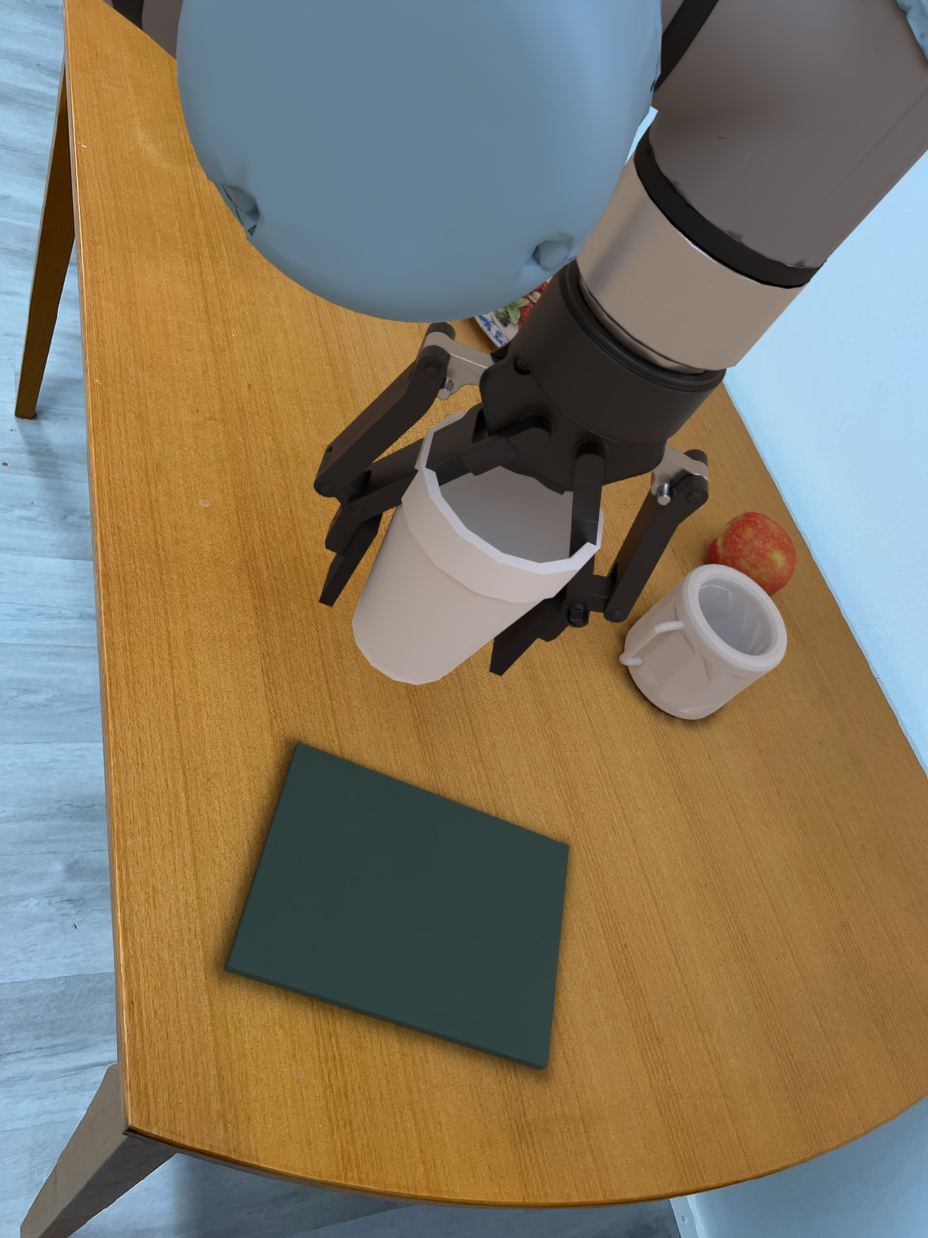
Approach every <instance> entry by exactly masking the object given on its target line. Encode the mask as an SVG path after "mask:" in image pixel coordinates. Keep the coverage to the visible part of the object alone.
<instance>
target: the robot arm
mask: <svg viewBox="0 0 928 1238" xmlns="http://www.w3.org/2000/svg"><path fill="white" fill-rule="evenodd" d="M102 2H104V3H105V4H107V5H108V6H109V7H111V9H113V10H114V11H116V12H117V13H119V15H121V16H122V17H124V19H126V20H127V21H129V22H130V23H132V24H133V25H134V26H135V27H136V28H138V29H139V30H140V31H142V32H143V33H144V34H146V35H147V36H148V37H149V38H150V39H151V40H153V41H154V42H155V43H156V44H157V45H158V46H159V47H160V48H161V49H163V51H165V52H166V53H167V54H168V55H169V56H170V57H171V58H173V60H175V61H176V79H177V81H176V82H177V88H178V93H179V94H178V95H179V99H180V104H181V110H182V115H183V118H184V121H185V127H186V130H187V135H188V139H189V142H190V144H191V146H192V148H193V151H194V153H195V156H196V159H197V162H198V163H199V165H200V167H201V169H202V171H203V172H204V174H205V176H206V179H207V181H209V182H212V183H213V184H214V186H215V188H216V190H217V191H218V193H219V195H220V197H221V199H222V200H223V202H224V203H225V205H226V207H227V208H228V209H229V211H230V212H231V213H232V215H233V216H234V218H235V219H236V220H237V222H238V223H239V224H240V226H241V227H242V228H243V230H244V234H245V238H246V241H248V243H249V244H250V245H252V247H254V248H255V249H256V251H257V252H258V253H259V254H260V255H261V256H262V257H263V258H264V259H265V260H266V261H267V262H268V263H270V264H271V265H272V266H274V267H275V268H276V269H277V270H278V271H279V272H280V273H282V274H283V275H284V276H285V277H286V278H288V279H290V280H291V281H292V282H294V283H296V284H297V285H299V286H300V287H302V288H303V289H305V290H306V291H308V292H309V293H311V294H313V295H315V296H317V297H319V298H321V299H323V300H325V301H327V302H329V303H331V304H333V305H335V306H338V307H341V308H344V309H346V310H349V311H352V312H355V313H356V314H357V313H358V314H360V315H365V316H369V317H372V318H375V319H376V318H377V319H379V320H380V319H381V320H385V321H393V322H400V323H406V324H407V323H408V324H409V323H411V324H412V323H413V324H429V326H428V327H427V328H426V331H425V334H424V335H423V336H424V337H423V339H422V342H421V344H420V347H419V349H418V351H417V355H416V357H415V359H414V360H413V361H412V362H411V363H410V364H409V365H408V366H407V367H405V369H404V370H403V371H402V372H401V373H400V374H399V375H398V376H397V377H396V378H395V379H394V380H393V381H392V382H391V383H390V384H389V385H388V386H387V387H385V389H383V391H382V392H381V393H380V394H379V395H378V396H377V397H375V398H374V399H373V401H371V402H370V404H369V405H368V406H366V407H365V408H364V410H362V411H361V412H360V413H359V414H358V415H357V416H356V417H355V418H354V419H353V420H352V421H351V422H350V423H349V424H348V425H347V426H346V427H345V428H344V429H343V430H342V431H341V432H340V433H339V434H338V435H337V436H336V437H335V438H334V439H333V440H332V441H330V443H329V444H328V445H327V446H326V447H325V450H324V453H323V455H322V458H321V460H320V464H319V467H318V470H317V472H316V475H315V477H314V481H313V485H312V487H313V490H314V491H315V493H317V494H318V495H319V496H321V497H323V498H328V499H331V498H335V499H336V500H337V501H338V502H339V504H340V505H339V506H338V508H337V510H336V512H335V514H334V515H333V517H332V519H331V521H330V524H329V526H328V530H327V533H326V536H325V539H324V549H325V550H328V551H330V552H333V553H334V554H335V555H334V557H333V559H332V560H331V562H330V564H329V567H328V570H327V574H326V577H325V579H324V583H323V586H322V590H321V593H320V596H319V599H318V603H320V604H322V605H325V606H326V607H330V608H333V606H334V605H335V604H336V602H337V601H338V598H339V597H340V595H341V593H342V592H343V590H344V589H345V587H346V586H347V584H348V582H349V580H351V577H353V574H354V573H355V571H356V569H357V568H358V566H359V565H360V563H361V562H362V560H363V558H364V557H365V555H366V553H367V552H368V550H369V548H370V547H371V545H372V543H373V542H374V541H375V538H376V537H377V536H378V533H379V530H380V525H381V524H382V523H381V522H382V518H383V515H384V513H385V512H388V511H389V510H392V509H395V507H396V506H398V505H401V504H402V500H401V499H402V497H403V495H404V494H405V492H406V490H407V489H408V487H409V486H410V484H411V482H412V481H413V479H414V478H415V476H416V474H417V473H418V471H419V470H417V469H415V468H414V467H415V464H416V461H417V458H418V455H419V452H420V449H421V446H422V443H423V440H424V436H423V437H421V438H419V439H417V440H416V441H413V442H411V443H409V444H407V445H405V446H403V447H401V448H399V449H397V450H395V451H393V452H391V453H390V454H387V455H386V456H383V457H381V456H382V455H383V454H384V453H385V452H386V451H387V450H388V449H389V448H390V447H391V446H393V445H394V444H395V443H396V442H397V441H398V440H399V439H400V438H401V437H403V436H404V434H406V433H407V432H408V431H410V429H411V428H412V427H413V426H414V425H416V424H417V423H418V422H419V421H420V420H421V419H422V418H423V417H425V415H426V414H427V413H428V411H429V410H430V409H431V407H432V406H433V405H434V404H435V403H434V402H435V401H436V399H439V400H441V401H447V400H449V399H450V397H451V396H453V395H455V394H457V393H458V392H459V390H460V389H461V388H463V387H465V386H469V385H474V386H477V387H478V390H479V394H480V395H479V396H480V402H478V403H476V404H475V405H474V404H473V406H471V407H470V408H469V409H467V410H466V411H467V412H466V414H465V415H464V416H463V417H462V418H461V419H459V420H457V421H455V422H453V423H451V424H449V425H447V426H445V427H443V428H441V429H439V430H437V431H435V432H434V434H433V438H432V442H431V446H430V450H429V454H428V458H427V462H426V466H425V468H427V469H429V470H432V471H434V472H435V474H436V477H437V481H438V485H439V487H440V486H442V485H444V484H446V483H448V482H450V481H453V480H455V479H457V478H459V477H461V476H463V475H466V474H468V473H472V474H473V475H474V476H478V475H481V474H483V473H485V472H487V471H490V470H492V469H494V468H496V467H498V466H501V467H503V468H505V469H507V470H510V471H512V472H514V473H516V474H520V475H525V476H529V477H533V478H535V479H536V480H537V481H539V482H540V483H541V484H542V485H544V486H545V487H546V488H548V489H550V490H552V491H554V492H556V493H558V494H561V495H563V494H564V492H565V491H568V492H573V502H572V517H571V535H570V550H569V558H570V557H571V556H572V555H573V554H575V553H576V552H577V551H578V550H579V549H580V548H581V547H582V546H584V545H585V544H586V543H587V542H589V543H591V544H593V545H595V546H596V542H597V532H598V523H599V513H600V506H601V504H602V503H601V502H602V493H603V487H604V486H608V485H612V484H615V483H618V482H621V481H625V480H628V479H632V478H636V477H639V476H642V475H646V474H649V473H650V488H649V490H648V492H647V494H646V495H645V498H644V500H643V503H642V504H641V506H640V508H639V510H638V512H637V514H636V516H635V518H634V520H633V522H632V524H631V526H630V528H629V530H628V532H627V534H626V536H625V538H624V540H623V542H622V544H621V546H620V548H619V550H618V552H617V555H616V556H615V558H614V560H613V562H612V564H611V565H610V569H609V570H608V573H607V574H606V576H605V575H601V574H594V572H595V562H596V561H595V560H596V553H595V554H594V555H593V556H592V557H591V558H590V559H589V560H588V561H587V562H586V563H585V565H584V566H583V567H582V568H581V569H580V570H579V571H578V572H577V573H576V574H575V575H574V576H573V577H572V579H571V580H570V581H569V582H568V583H567V584H566V585H565V586H564V587H563V588H562V589H561V590H560V591H559V592H558V593H557V594H556V595H555V596H554V597H552V598H546V599H543V600H542V601H541V602H539V603H538V604H537V605H536V606H534V607H533V608H532V609H530V610H529V611H528V612H527V613H525V614H524V615H523V616H521V617H520V618H519V619H518V620H516V621H515V622H514V623H512V624H511V625H510V626H509V627H507V628H506V629H505V630H503V631H502V632H501V633H499V634H498V635H497V636H496V637H494V638H493V642H492V643H493V644H492V650H491V655H490V662H489V669H488V672H489V673H491V674H493V675H496V676H498V677H502V676H503V675H504V674H505V673H507V671H508V670H509V669H510V668H512V666H513V665H514V664H515V662H517V661H518V660H519V659H520V658H521V657H522V656H523V654H524V653H525V652H526V651H527V650H528V649H529V648H530V647H531V646H532V645H533V644H534V643H535V642H536V641H537V640H538V639H539V640H541V641H544V642H545V643H550V642H552V641H554V640H556V639H557V638H559V636H560V635H562V634H563V633H564V631H565V630H566V629H568V627H571V628H574V629H581V628H584V627H586V626H587V625H588V624H589V622H590V612H593V613H594V612H595V613H600V614H603V615H602V616H603V618H604V619H605V620H606V621H608V622H610V623H614V624H619V623H622V622H625V621H626V620H627V619H628V617H629V616H630V614H631V612H632V611H633V609H634V607H635V605H636V603H637V601H638V600H639V598H640V596H641V594H642V592H643V590H644V589H645V587H646V586H647V583H648V581H649V579H650V577H651V575H652V574H653V572H654V570H655V569H656V566H657V565H658V563H659V561H660V560H661V558H662V556H663V554H664V552H665V550H666V548H667V547H668V545H669V543H670V542H671V539H672V537H673V536H674V534H675V533H676V530H677V528H678V527H679V525H680V524H681V523H683V522H684V521H685V520H686V519H688V518H689V517H690V516H692V515H693V514H694V513H696V511H698V510H699V509H700V508H701V507H702V506H704V505H705V504H706V503H707V501H708V500H709V498H710V497H709V496H710V494H709V493H710V492H709V491H710V490H709V488H710V487H709V458H708V454H707V453H706V452H705V451H703V450H701V449H697V448H692V449H688V450H686V451H685V452H682V451H680V450H679V449H677V448H675V447H674V446H672V445H670V444H669V443H667V442H668V440H669V439H671V438H672V437H674V436H675V435H676V434H677V432H679V431H680V430H681V428H682V427H683V426H684V425H685V424H686V423H687V422H688V420H689V419H690V418H691V417H692V416H693V414H694V413H696V411H697V410H698V409H699V408H700V407H701V406H702V405H703V403H704V402H705V401H706V400H707V399H708V398H709V397H710V396H711V394H712V393H713V392H714V391H715V390H716V389H717V388H718V386H719V385H720V384H721V383H722V381H723V380H724V378H725V377H726V374H727V370H728V369H730V368H733V367H736V366H737V365H738V364H739V363H740V362H741V361H742V360H743V358H744V357H745V356H747V354H748V353H749V352H750V351H751V349H753V347H754V346H755V345H756V344H757V342H759V341H760V339H761V338H762V337H763V336H764V335H765V333H766V332H767V331H769V329H770V328H771V327H772V325H774V324H775V322H776V321H777V320H779V317H780V316H781V315H782V314H783V313H784V312H785V311H786V310H787V308H788V307H789V306H790V305H791V304H792V303H793V302H794V300H795V299H796V298H797V297H798V296H799V295H800V294H801V292H803V290H804V289H805V288H806V287H807V286H808V285H809V284H810V282H811V280H812V279H813V278H814V277H815V275H817V274H818V272H819V271H820V270H821V269H822V267H823V266H824V265H825V263H827V262H828V259H829V258H830V257H831V256H832V255H833V254H834V253H835V251H836V250H838V248H839V247H840V246H841V245H842V244H843V243H844V242H845V241H846V240H847V238H848V237H849V236H850V235H851V234H852V233H853V232H854V231H855V230H856V229H857V228H858V226H860V224H862V222H864V220H865V219H866V218H867V217H868V216H869V214H870V213H872V211H873V210H874V209H875V208H876V207H877V206H878V204H880V203H881V202H882V200H883V199H884V198H885V197H886V196H887V195H888V194H889V193H890V192H891V191H892V190H893V189H894V188H895V186H897V184H898V183H899V182H900V181H901V180H902V179H903V177H905V176H906V174H907V173H909V171H910V170H911V169H912V168H913V167H914V166H915V165H916V163H918V161H919V160H920V159H921V158H922V157H923V156H924V155H925V153H927V151H928V0H102ZM651 108H652V109H654V110H656V111H657V112H656V113H655V115H654V118H653V119H652V121H651V123H650V124H649V126H647V128H646V129H645V131H644V132H643V134H642V135H641V137H640V138H639V140H638V142H637V144H636V146H635V149H634V150H633V152H632V153H631V154H630V151H631V149H632V147H633V143H634V141H635V138H636V135H637V132H638V129H639V128H640V126H641V124H642V123H643V122H644V120H645V119H646V117H647V116H648V115H649V114H650V110H651ZM629 154H630V157H629ZM628 157H629V158H628ZM552 276H553V277H552ZM550 277H552V278H551V280H550V281H549V283H548V285H547V286H546V288H545V289H544V291H543V292H542V294H541V296H540V297H539V299H538V300H537V302H536V304H535V305H534V307H533V308H532V310H531V311H530V313H529V315H528V316H527V318H526V319H525V321H524V322H523V324H522V326H521V327H520V329H519V330H518V332H517V333H516V335H515V336H514V337H513V338H512V339H511V340H510V341H509V342H508V343H506V344H505V345H503V346H501V347H499V348H498V347H497V348H495V349H493V350H491V352H490V353H486V352H485V351H482V350H479V349H477V348H475V347H471V346H469V345H466V344H464V343H461V342H459V341H456V336H457V333H456V330H455V328H454V326H452V325H451V324H450V322H458V321H462V320H467V319H472V318H474V317H475V316H480V315H484V314H486V313H489V312H492V311H494V310H497V309H499V308H502V307H505V306H507V305H509V304H511V303H513V302H514V301H516V300H518V299H520V298H521V297H523V296H525V295H527V294H529V293H530V292H532V291H533V290H534V289H536V288H537V287H538V286H540V285H541V284H542V283H544V282H545V281H546V280H548V279H549V278H550ZM380 457H381V458H380ZM378 458H379V459H378Z"/></svg>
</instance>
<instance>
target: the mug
mask: <svg viewBox="0 0 928 1238" xmlns="http://www.w3.org/2000/svg"><path fill="white" fill-rule="evenodd" d="M787 645H788V634H787V629H786V625H785V622H784V619H783V616H782V614H781V613H780V611H779V608H778V607H777V606H776V604H775V602H774V601H773V600H772V598H771V596H768V595H767V593H766V592H765V591H764V590H763V589H762V588H761V587H760V586H759V585H758V584H757V583H756V582H754V581H753V580H752V579H751V578H749V577H748V576H746V575H745V574H743V573H741V572H739V571H738V570H735V569H733V568H730V567H727V566H724V565H718V564H703V565H699V566H697V567H694V569H692V570H691V571H689V572H688V573H687V574H686V575H685V576H684V577H683V578H682V579H681V580H680V581H679V582H677V584H675V585H674V586H673V587H672V588H671V589H670V590H669V591H668V592H667V593H666V594H664V596H663V597H661V598H660V599H659V600H658V601H657V602H656V603H655V604H653V606H652V607H651V608H650V609H648V611H646V612H645V613H644V614H643V615H642V616H641V617H639V619H638V620H637V621H636V622H635V623H634V624H633V625H632V626H631V627H630V629H629V630H628V632H627V634H626V637H625V641H624V652H623V653H621V654H620V655H619V658H618V659H619V663H620V664H621V665H623V666H627V669H628V671H629V674H630V676H631V678H632V680H633V682H634V683H635V685H636V686H637V689H639V690H640V692H641V693H642V694H643V695H644V696H645V698H647V700H649V702H651V703H652V704H653V705H655V707H657V708H659V709H660V710H662V711H664V712H665V713H668V714H669V715H671V716H674V717H676V718H680V719H684V720H700V719H703V718H706V717H709V715H711V714H713V713H714V712H716V711H717V710H719V709H720V708H721V707H723V706H724V705H725V704H727V703H728V702H730V700H732V699H733V698H735V697H736V696H737V695H738V694H739V693H741V692H742V691H744V690H746V688H748V687H749V686H750V685H752V684H753V683H755V682H756V681H757V680H759V679H760V678H762V677H763V676H765V675H766V674H768V673H770V672H771V671H772V670H774V669H775V668H776V667H777V666H778V665H779V664H780V663H781V662H782V661H783V659H784V657H785V654H786V651H787Z"/></svg>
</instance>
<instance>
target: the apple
mask: <svg viewBox="0 0 928 1238" xmlns="http://www.w3.org/2000/svg"><path fill="white" fill-rule="evenodd" d="M796 551H797V550H796V547H795V545H794V541H793V540H792V538H791V537H790V535H789V534H788V532H787V531H786V530H785V528H783V527H782V526H781V525H780V524H779V523H778V522H777V521H776V520H775V519H773V518H772V517H770V516H768V515H766V514H764V513H760V512H757V511H745V512H742V513H740V514H739V515H737V516H734V517H733V518H731V520H728V522H727V523H726V524H724V526H722V527H721V529H720V530H719V531H718V533H717V534H716V535H715V537H714V538H713V539H712V540H711V541H710V543H709V546H708V551H707V553H708V554H707V555H708V561H709V563H710V564H718V565H724V566H727V567H730V568H733V569H735V570H738V571H739V572H741V573H743V574H745V575H746V576H748V577H749V578H751V579H752V580H753V581H754V582H756V583H757V584H758V585H759V586H760V587H761V588H762V589H763V590H764V591H765V592H766V593H767V595H768V596H769V597H772V596H774V595H776V594H777V593H778V592H779V591H781V590H782V589H783V588H785V586H786V585H787V584H788V583H789V582H790V580H791V579H792V577H793V575H794V572H795V570H796V565H797V552H796Z"/></svg>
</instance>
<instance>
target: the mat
mask: <svg viewBox="0 0 928 1238" xmlns="http://www.w3.org/2000/svg"><path fill="white" fill-rule="evenodd" d="M276 800H277V801H276V804H275V807H274V810H273V813H272V815H271V820H270V823H269V826H268V829H267V832H266V834H265V839H264V840H263V841H264V842H263V845H262V847H261V851H260V854H259V857H258V861H257V863H256V867H255V870H254V873H253V876H252V879H251V883H250V885H249V889H248V892H247V894H246V898H245V901H244V904H243V907H242V911H241V914H240V917H239V920H238V923H237V926H236V928H235V929H236V930H235V933H234V936H233V939H232V942H231V946H230V948H229V951H228V954H227V958H226V961H225V964H224V968H223V971H225V972H228V973H230V974H234V975H238V976H240V977H243V978H247V979H250V980H253V981H256V982H259V983H262V984H266V985H269V986H272V987H275V988H278V989H281V990H285V991H288V992H291V993H293V994H296V995H300V996H304V997H306V998H310V999H314V1000H316V1001H318V1002H319V1001H320V1002H323V1003H325V1004H329V1005H332V1006H335V1007H339V1008H341V1009H344V1010H348V1011H351V1012H354V1013H357V1014H360V1015H364V1016H367V1017H369V1018H374V1019H376V1020H379V1021H383V1022H386V1023H389V1024H392V1025H395V1026H398V1027H402V1028H405V1029H408V1030H412V1031H414V1032H417V1033H421V1034H424V1035H427V1036H431V1037H434V1038H436V1039H439V1040H443V1041H446V1042H449V1043H453V1044H455V1045H459V1046H462V1047H465V1048H469V1049H471V1050H474V1051H478V1052H481V1053H484V1054H488V1055H490V1056H494V1057H497V1058H500V1059H503V1060H507V1061H510V1062H513V1063H516V1064H520V1065H523V1066H525V1067H529V1068H532V1069H534V1070H538V1071H542V1070H544V1069H547V1068H548V1066H549V1065H548V1064H549V1055H550V1046H551V1045H550V1044H551V1034H552V1026H553V1025H552V1024H553V1015H554V1005H555V1003H554V1002H555V996H556V995H555V994H556V983H557V975H558V963H559V954H560V943H561V934H562V923H563V913H564V903H565V893H566V892H565V891H566V882H567V873H568V864H569V853H570V845H569V844H566V843H564V842H561V841H559V840H556V839H553V838H551V837H549V836H546V835H543V834H541V833H539V832H538V833H537V832H535V831H533V830H530V829H527V828H525V827H522V826H520V825H517V824H515V823H512V822H510V821H507V820H505V819H502V818H498V817H496V816H493V815H491V814H488V813H486V812H483V811H481V810H478V809H475V808H473V807H470V806H468V805H465V804H462V803H460V802H457V801H455V800H452V799H449V798H446V797H445V796H441V795H438V794H436V793H433V792H431V791H429V790H426V789H423V788H421V787H418V786H415V785H413V784H411V783H407V782H405V781H403V780H400V779H397V778H395V777H392V776H389V775H386V774H384V773H382V772H379V771H376V770H374V769H371V768H369V767H365V766H363V765H360V764H358V763H355V762H353V761H350V760H348V759H346V758H343V757H339V756H338V755H335V754H332V753H329V752H327V751H324V750H322V749H320V748H317V747H314V746H311V745H308V744H306V743H304V742H301V741H298V742H297V743H296V745H294V747H293V750H292V753H291V757H290V760H289V762H288V766H287V770H286V772H285V776H284V779H283V782H282V785H281V788H280V791H279V794H278V797H277V799H276Z"/></svg>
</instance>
